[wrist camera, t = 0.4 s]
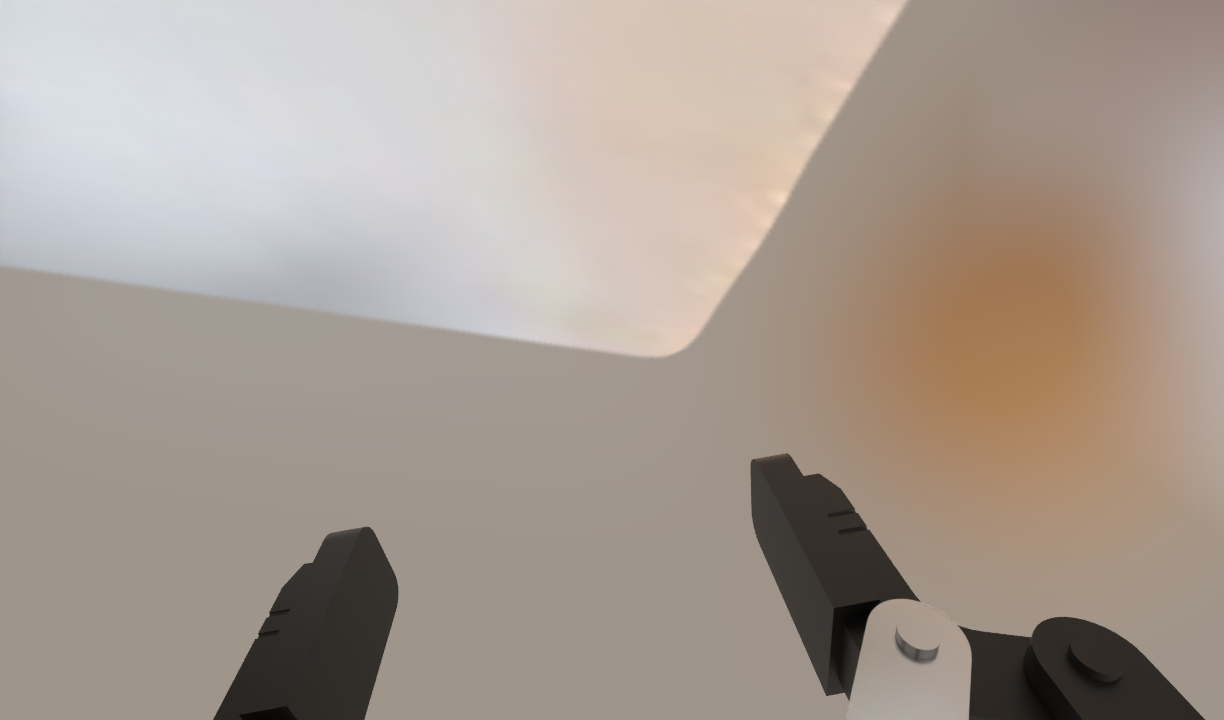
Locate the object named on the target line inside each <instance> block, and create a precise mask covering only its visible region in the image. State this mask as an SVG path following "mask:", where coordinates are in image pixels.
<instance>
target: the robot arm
mask: <svg viewBox="0 0 1224 720" xmlns="http://www.w3.org/2000/svg"><path fill="white" fill-rule="evenodd" d="M751 504H752V519H753V524H754V529H755V533H756V536H757V539H758V542H759V544H760V547H761V549H762V551H763V553H764V555H765V558H766V560H767V562H768V565H769V567H770V569H771V571H772V574H773V576H774V578H775V580H776V583H777V585H778V587H779V590H780V592H781V594H782V596H783V599H784V601H785V603H786V605H787V608H788V610H789V612H790V615H791V617H792V619H793V621H794V624H795V626H796V628H797V630H798V633H799V635H800V637H801V639H802V642H803V644H804V646H805V648H806V651H807V653H808V655H809V657H810V660H811V662H812V664H813V667H814V669H815V671H816V673H817V676H818V678H819V680H820V682H821V685H822V687H823V689H824V692H825V694H826V696H829V695H834V694H839V693H845V694H846V696H847V698H848V700H849V706H848V710H847V715H846V719H845V720H1205V719H1204V718H1203V717H1202V716H1201V715H1200V714H1199V713H1198V712H1197V711H1196V710H1195V709H1194V708H1193V706H1192V705H1190V703H1189V702H1188V701H1187V700H1186V699H1185V698H1184V697H1183V696H1182V695H1181V694H1180V693H1179V692H1178V691H1177V690H1176V688H1175V687H1174V686H1173V685H1172V684H1171V683H1170V682H1169V681H1168V680H1167V679H1166V678H1165V677H1164V676H1163V675H1162V674H1161V673H1160V672H1159V670H1158V669H1157V668H1155V666H1154V665H1153V664H1152V663H1151V662H1150V661H1149V660H1148V659H1147V658H1146V657H1145V656H1144V655H1143V654H1142V653H1141V652H1140V651H1139V650H1138V649H1137V648H1136V647H1135V646H1133V645H1132V644H1131V643H1130V642H1128V641H1127V640H1126V639H1124V638H1122V637H1121V636H1119V635H1118V634H1116V633H1114V632H1112V631H1111V630H1109V629H1107V628H1105V627H1102V626H1100V625H1098V624H1095V623H1092V622H1089V621H1086V620H1082V619H1077V618H1070V617H1055V618H1051V619H1047V620H1045V621H1043V622H1041V623H1040V624H1039V625H1037V627H1036V628H1035V630H1034V632H1033V634H1032V637H1023V636H1014V635H1006V634H998V633H990V632H981V631H976V630H971V629H967V628H964V627H961V626H958V625H957V624H956V623H955V622H954V621H953V620H952V619H950V618H949V617H948V616H947V615H945V614H944V613H942V612H941V611H940V610H938V609H936V608H934V607H932V606H930V605H927V604H925V603H922V602H921V601H920V600H919V599H918V598H917V597H916V596H915V594H914V593H913V592H912V590H911V589H910V588H909V586H908V585H907V583H906V582H905V580H904V579H903V578H902V576H901V575H900V573H899V572H898V570H897V569H896V568H895V566H894V565H893V563H892V562H891V560H890V559H889V557H888V556H887V554H886V553H885V552H884V550H883V549H882V547H881V546H880V544H879V543H878V542H877V540H876V539H875V537H874V536H873V534H872V533H871V531H870V530H867V527H866V524H865V523H864V522H863V520H862V519H861V517H860V516H859V514H858V513H856V512H855V508H854V507H853V506H852V504H851V503H850V501H849V500H848V499H847V497H846V496H845V494H844V493H843V491H842V490H841V489H840V488H839V487H837V486H836V485H835V484H833V483H832V482H830V481H829V480H828V479H826V478H825V477H823V476H822V475H820V474H814V475H808V476H803V475H802V473H801V472H800V470H799V468H798V467H797V465H796V464H795V462H794V460H793V459H792V457H791V456H790V455H789V454H787V453H786V454H781V455H775V456H770V457H764V458H758V459H753V460H752V461H751ZM397 603H398V584H397V579H396V576H395V574H394V572H393V570H392V567H391V566H390V563H389V561H388V559H387V557H386V555H385V553H384V551H383V549H382V547H381V545H380V543H379V541H378V539H377V537H376V535H375V533H374V531H373V530H372V529H371V528H370V527H362V528H357V529H351V530H345V531H340V532H334V533H330V534H329V535H327V536H326V538H325V539H324V541H323V543H322V545H321V547H320V549H319V551H318V553H317V555H316V557H315V559H314V562H313V563H308V564H304V565H303V566H302V567H301V568H300V569H299V570H298V571H297V572H296V573H295V575H294V576H293V577H292V578H291V579H290V580H289V581H288V582H287V583H286V584H285V585H284V586H283V588H282V589H281V591H280V593H279V595H278V597H277V599H276V601H275V603H274V605H273V607H272V608H271V610H270V612H269V613H270V616H269V617H268V618H266V620H265V622H264V624H263V626H262V627H261V630H260V631H259V633H258V634H259V637H258V639H255V641H254V643H253V645H252V647H251V648H250V650H249V652H248V654H247V656H246V658H245V660H244V662H243V664H242V666H241V668H240V670H239V671H238V674H237V675H236V677H235V679H234V681H233V683H232V685H231V687H230V689H229V690H228V692H227V694H226V696H225V698H224V700H223V702H222V704H221V706H220V708H219V710H218V712H217V713H216V715H215V717H214V719H213V720H364V719H365V715H366V712H367V708H368V705H369V701H370V698H371V694H372V691H373V687H374V684H375V681H376V677H377V674H378V670H379V666H380V663H381V660H382V656H383V653H384V649H385V646H386V643H387V639H388V636H389V632H390V629H391V626H392V622H393V618H394V615H395V612H396V608H397Z"/></svg>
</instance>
